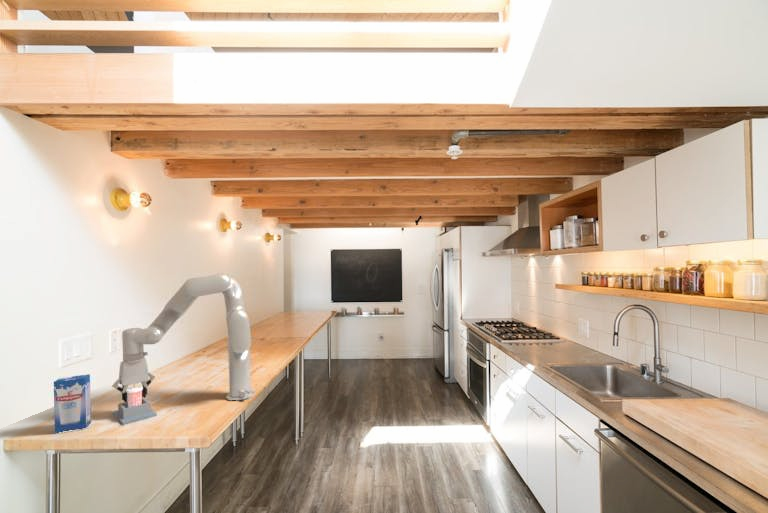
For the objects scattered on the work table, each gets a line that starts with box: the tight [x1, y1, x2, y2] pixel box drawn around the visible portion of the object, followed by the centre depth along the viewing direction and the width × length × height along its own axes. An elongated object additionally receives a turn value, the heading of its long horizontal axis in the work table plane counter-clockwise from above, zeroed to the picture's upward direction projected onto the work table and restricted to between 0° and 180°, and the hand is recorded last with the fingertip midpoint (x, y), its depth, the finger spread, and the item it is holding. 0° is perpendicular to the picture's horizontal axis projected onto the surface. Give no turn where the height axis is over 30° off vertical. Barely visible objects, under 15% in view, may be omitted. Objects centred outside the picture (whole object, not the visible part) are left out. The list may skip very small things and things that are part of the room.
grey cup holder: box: [112, 397, 157, 426], centre depth 162 cm, size 18×12×5 cm, turn 46°
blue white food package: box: [53, 374, 92, 434], centre depth 150 cm, size 10×6×20 cm, turn 114°
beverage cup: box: [126, 384, 143, 407], centre depth 162 cm, size 6×6×14 cm
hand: (134, 398), depth 162 cm, fingers closed on beverage cup, 6 cm apart
